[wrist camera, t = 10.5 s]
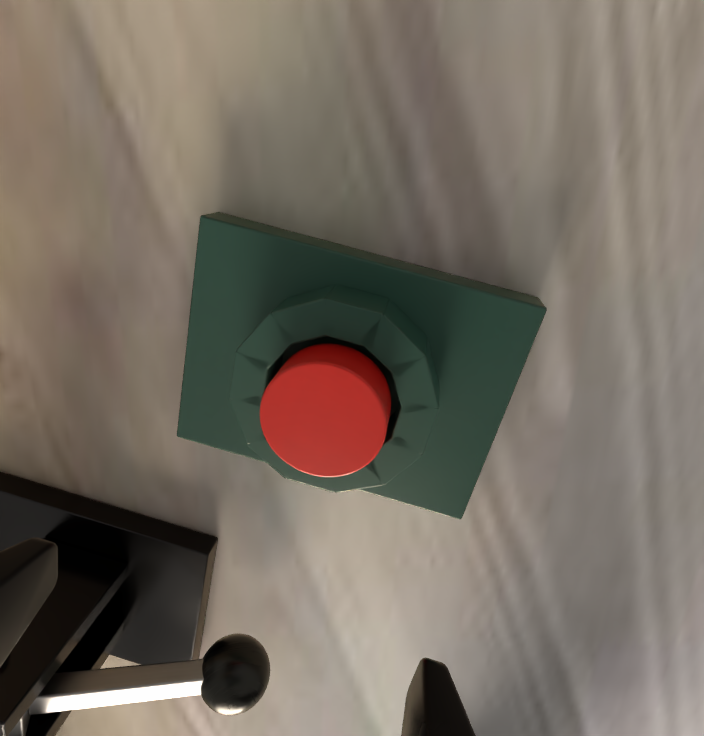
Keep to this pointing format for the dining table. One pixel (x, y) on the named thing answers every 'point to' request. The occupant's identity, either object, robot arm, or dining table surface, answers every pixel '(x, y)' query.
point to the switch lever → (164, 682)
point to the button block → (363, 333)
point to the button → (326, 410)
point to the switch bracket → (100, 593)
